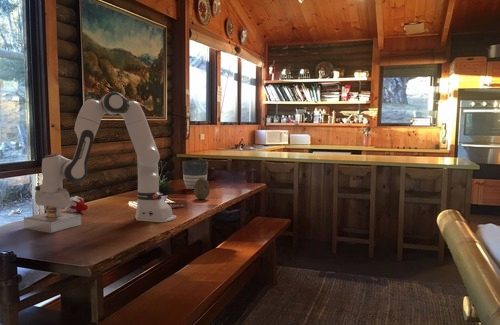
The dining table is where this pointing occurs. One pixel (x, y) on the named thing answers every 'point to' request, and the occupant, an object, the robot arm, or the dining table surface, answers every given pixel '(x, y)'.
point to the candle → (77, 205)
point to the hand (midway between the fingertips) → (53, 215)
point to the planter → (194, 172)
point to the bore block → (52, 222)
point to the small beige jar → (52, 212)
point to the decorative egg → (201, 188)
